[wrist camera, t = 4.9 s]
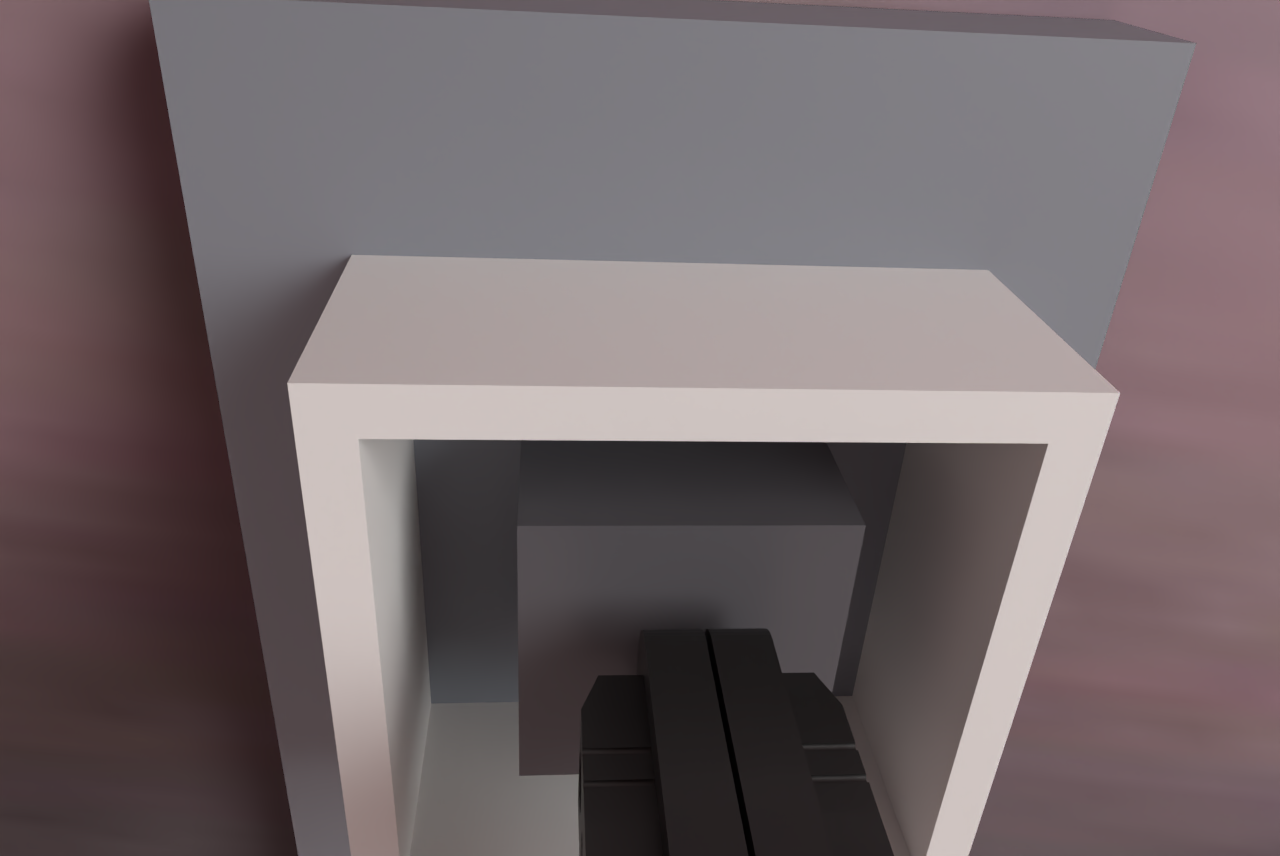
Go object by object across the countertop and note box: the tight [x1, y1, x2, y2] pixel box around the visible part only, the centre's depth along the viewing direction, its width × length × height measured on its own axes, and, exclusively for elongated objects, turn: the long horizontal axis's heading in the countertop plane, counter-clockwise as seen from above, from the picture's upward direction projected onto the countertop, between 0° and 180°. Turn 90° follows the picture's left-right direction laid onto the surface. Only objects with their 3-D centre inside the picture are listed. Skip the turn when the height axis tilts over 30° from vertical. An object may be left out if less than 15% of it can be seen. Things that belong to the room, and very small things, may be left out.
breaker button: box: [517, 440, 866, 776], centre depth 13 cm, size 4×4×2 cm
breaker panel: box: [149, 0, 1196, 856], centre depth 17 cm, size 12×24×6 cm, turn 177°
